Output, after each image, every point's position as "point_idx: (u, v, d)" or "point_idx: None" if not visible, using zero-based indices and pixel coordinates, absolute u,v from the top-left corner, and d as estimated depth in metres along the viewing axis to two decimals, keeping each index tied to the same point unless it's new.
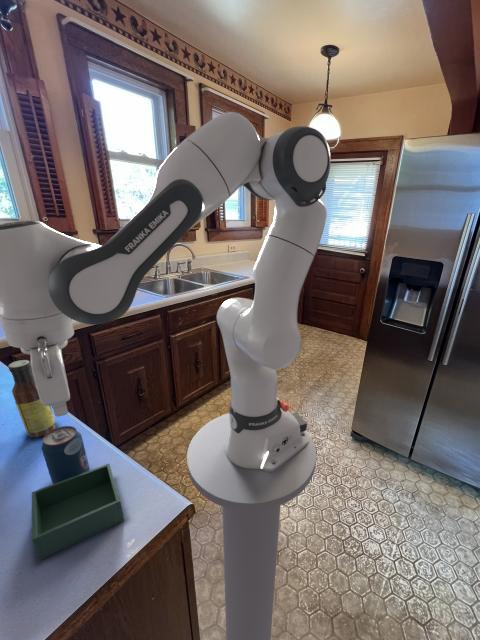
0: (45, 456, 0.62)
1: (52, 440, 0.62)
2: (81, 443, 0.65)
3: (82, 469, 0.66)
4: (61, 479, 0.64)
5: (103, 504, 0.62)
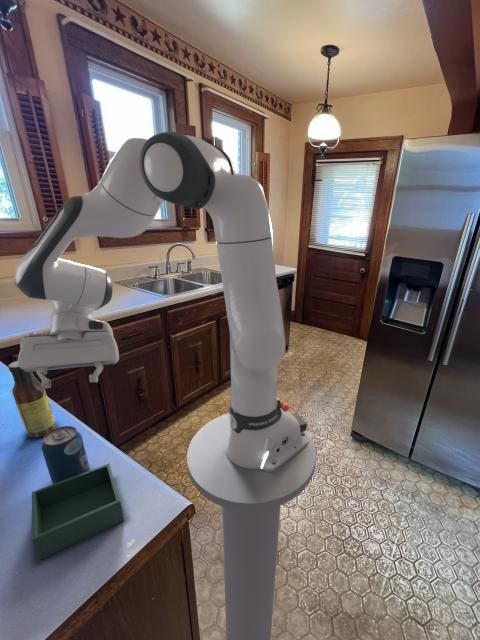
0: (45, 456, 0.62)
1: (52, 440, 0.62)
2: (81, 443, 0.65)
3: (82, 469, 0.66)
4: (61, 479, 0.64)
5: (103, 504, 0.62)
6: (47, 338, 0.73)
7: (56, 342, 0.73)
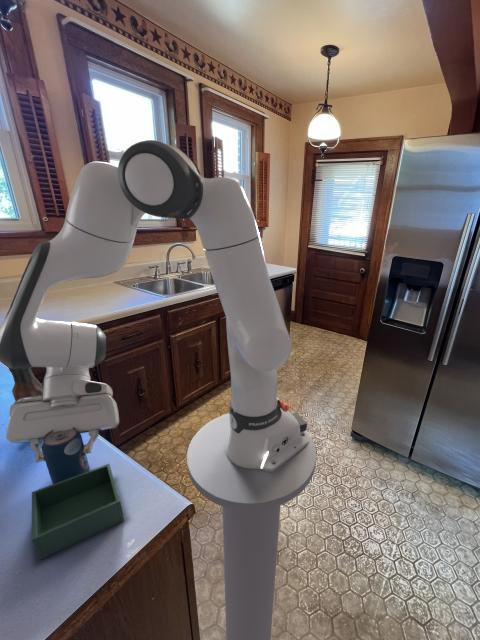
0: (45, 456, 0.62)
1: (51, 440, 0.62)
2: (81, 443, 0.65)
3: (82, 469, 0.66)
4: (61, 479, 0.64)
5: (103, 504, 0.62)
6: (39, 405, 0.66)
7: (49, 409, 0.66)
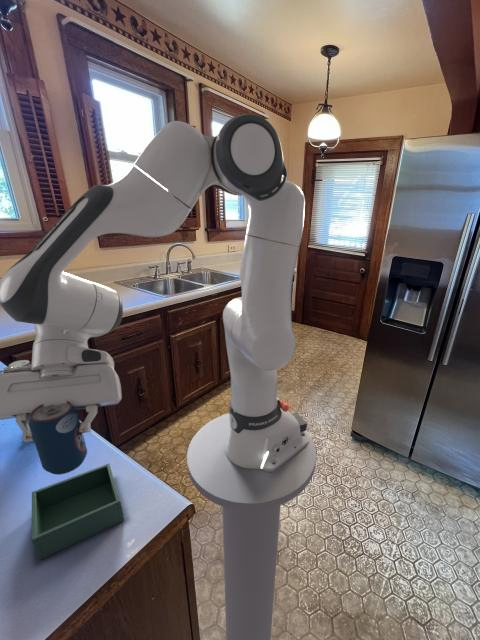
0: (33, 434, 0.51)
1: (41, 415, 0.52)
2: (77, 420, 0.55)
3: (78, 451, 0.56)
4: (53, 462, 0.53)
5: (103, 504, 0.62)
6: (27, 375, 0.55)
7: (39, 380, 0.56)
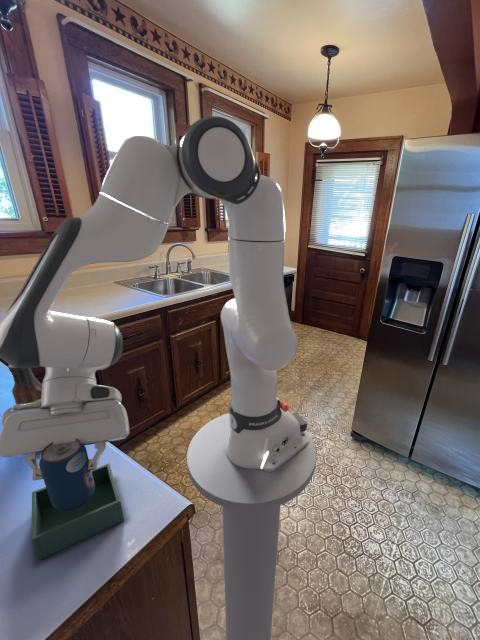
0: (43, 474, 0.52)
1: (51, 455, 0.53)
2: (86, 458, 0.56)
3: (86, 488, 0.56)
4: (62, 500, 0.54)
5: (103, 504, 0.62)
6: (37, 412, 0.56)
7: (49, 417, 0.56)
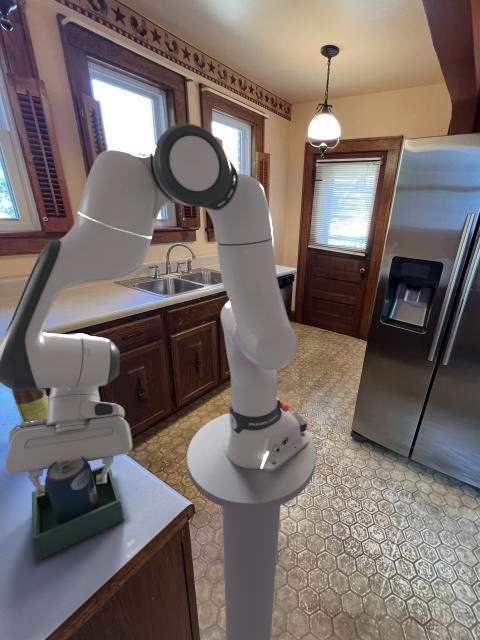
0: (49, 492, 0.54)
1: (57, 473, 0.54)
2: (90, 475, 0.57)
3: (91, 504, 0.58)
4: (67, 517, 0.56)
5: (103, 504, 0.62)
6: (43, 430, 0.58)
7: (54, 434, 0.58)
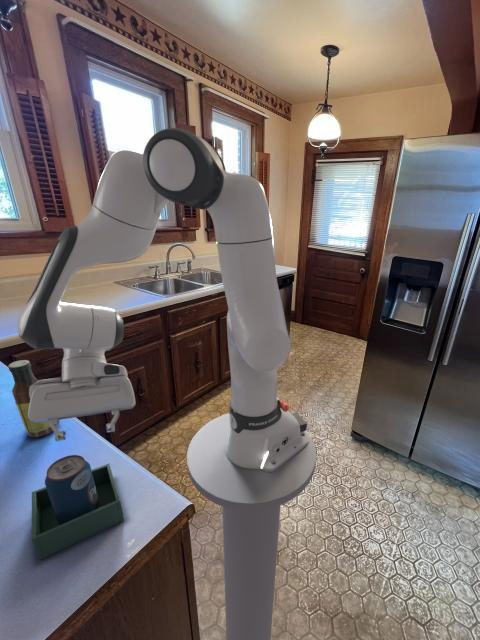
0: (49, 492, 0.54)
1: (56, 473, 0.54)
2: (90, 475, 0.57)
3: (91, 504, 0.58)
4: (67, 517, 0.56)
5: (103, 504, 0.62)
6: (59, 386, 0.68)
7: (69, 390, 0.68)
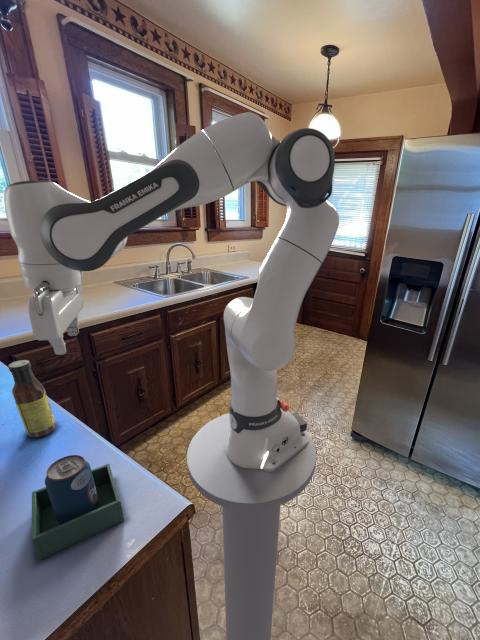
0: (49, 492, 0.54)
1: (56, 473, 0.54)
2: (90, 475, 0.57)
3: (91, 504, 0.58)
4: (67, 517, 0.56)
5: (103, 504, 0.62)
6: (59, 294, 0.56)
7: (63, 298, 0.58)
